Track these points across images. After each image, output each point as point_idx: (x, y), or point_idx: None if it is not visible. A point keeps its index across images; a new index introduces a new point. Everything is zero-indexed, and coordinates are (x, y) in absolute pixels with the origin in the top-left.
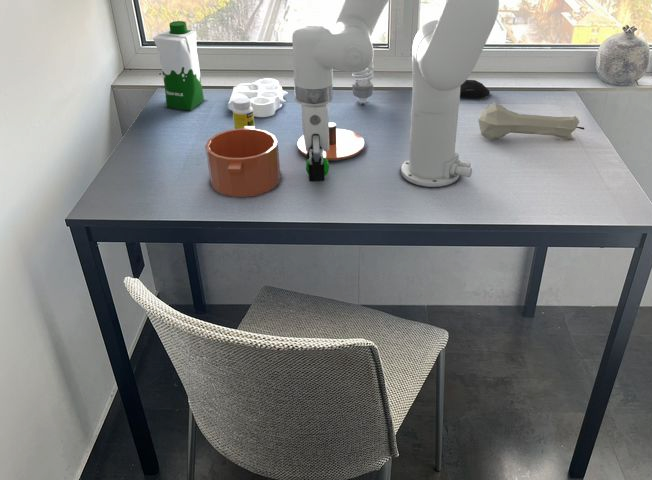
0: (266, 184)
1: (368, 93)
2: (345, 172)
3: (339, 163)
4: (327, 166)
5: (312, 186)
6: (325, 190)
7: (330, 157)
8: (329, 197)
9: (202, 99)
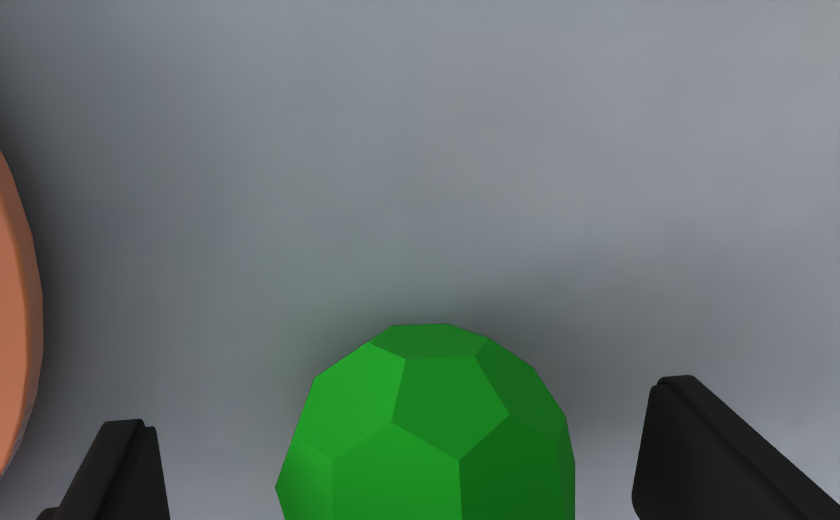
0: None
1: None
2: (327, 92)
3: (62, 153)
4: (505, 378)
5: (578, 426)
6: (677, 319)
7: (10, 294)
8: (803, 285)
9: None
